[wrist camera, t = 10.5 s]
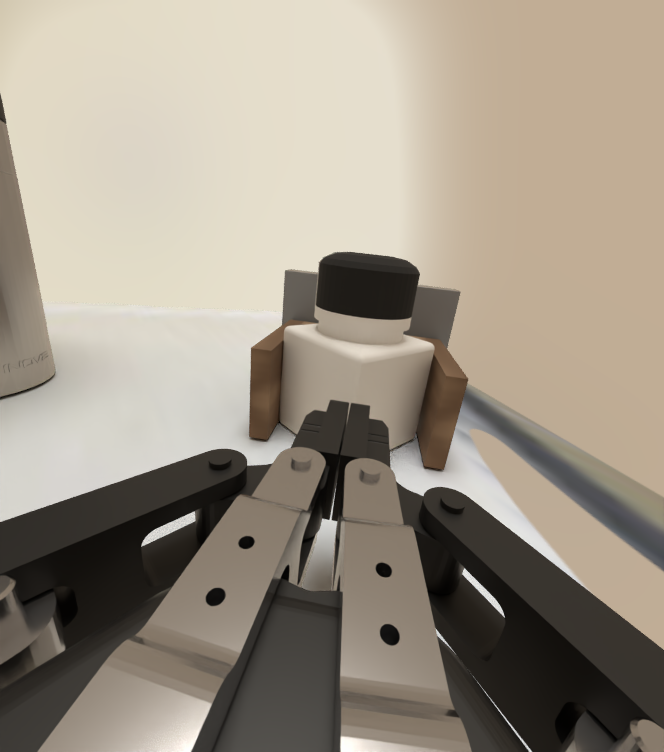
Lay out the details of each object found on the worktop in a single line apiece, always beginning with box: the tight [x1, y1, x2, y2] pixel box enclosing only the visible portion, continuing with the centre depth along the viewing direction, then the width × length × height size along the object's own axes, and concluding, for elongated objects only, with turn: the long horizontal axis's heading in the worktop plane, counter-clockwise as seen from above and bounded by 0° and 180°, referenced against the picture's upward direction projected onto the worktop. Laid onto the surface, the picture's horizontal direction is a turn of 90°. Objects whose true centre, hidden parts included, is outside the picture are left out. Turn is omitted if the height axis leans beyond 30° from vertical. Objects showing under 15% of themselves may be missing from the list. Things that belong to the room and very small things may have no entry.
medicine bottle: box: [279, 252, 434, 449], centre depth 22 cm, size 7×7×12 cm
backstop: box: [282, 269, 460, 349], centre depth 29 cm, size 14×2×10 cm, turn 82°
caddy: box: [249, 319, 468, 470], centre depth 24 cm, size 12×9×6 cm
